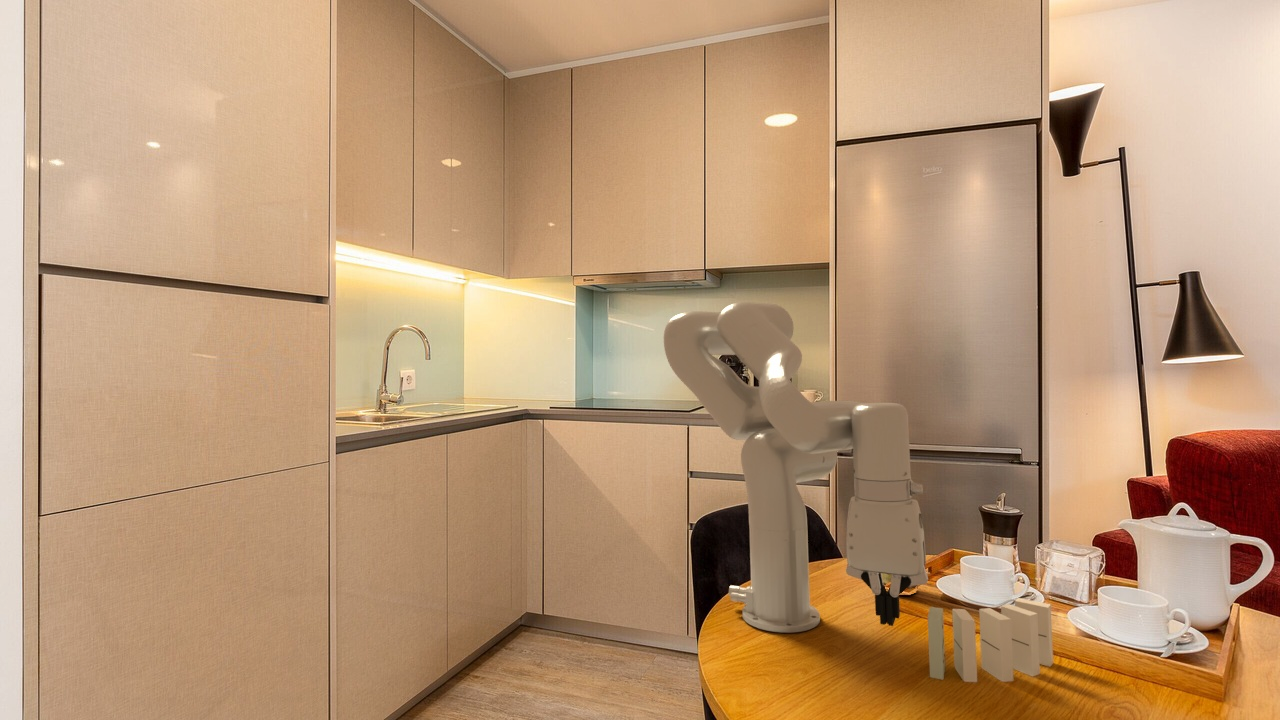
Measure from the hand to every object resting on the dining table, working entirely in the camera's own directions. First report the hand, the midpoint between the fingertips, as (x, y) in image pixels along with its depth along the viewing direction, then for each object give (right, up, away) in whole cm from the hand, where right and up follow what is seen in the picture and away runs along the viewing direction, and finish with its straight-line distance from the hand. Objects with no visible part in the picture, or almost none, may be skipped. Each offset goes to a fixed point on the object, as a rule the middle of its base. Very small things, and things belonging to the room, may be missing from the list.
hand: (888, 621), depth 88 cm
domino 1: (+9, -5, -4) cm, 11 cm away
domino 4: (+20, -5, 0) cm, 21 cm away
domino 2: (+13, -5, -4) cm, 15 cm away
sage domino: (+6, -6, -3) cm, 8 cm away
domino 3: (+17, -5, -3) cm, 18 cm away
